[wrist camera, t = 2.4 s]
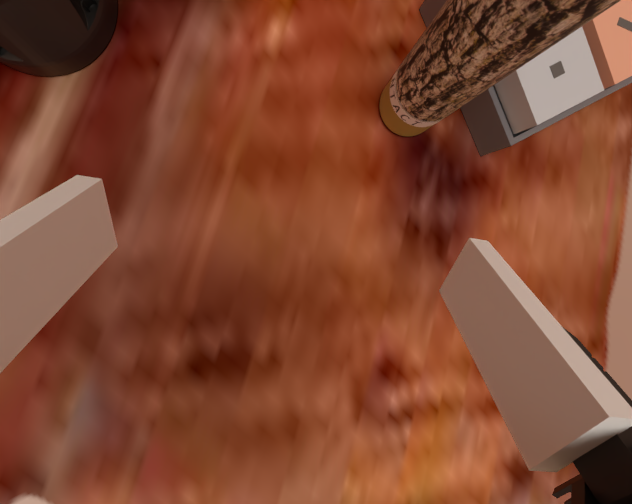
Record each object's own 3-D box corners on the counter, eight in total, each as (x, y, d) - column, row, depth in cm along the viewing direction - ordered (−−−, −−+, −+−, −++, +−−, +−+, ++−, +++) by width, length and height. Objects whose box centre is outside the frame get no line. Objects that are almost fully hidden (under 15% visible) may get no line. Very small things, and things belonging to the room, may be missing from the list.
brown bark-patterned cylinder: (420, 67, 35) (750, -321, 10) (442, 123, 36) (799, -105, 11) (367, 92, 34) (573, -242, 10) (392, 148, 35) (637, -27, 10)
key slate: (486, 65, 31) (507, 48, 28) (549, 33, 31) (578, 12, 28) (513, 134, 32) (537, 125, 28) (574, 102, 32) (604, 89, 29)
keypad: (419, 9, 34) (441, -27, 29) (555, -59, 35) (599, -106, 30) (480, 156, 36) (510, 145, 31) (607, 89, 37) (656, 69, 32)
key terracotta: (559, 28, 31) (589, 7, 28) (621, -4, 31) (657, -28, 28) (584, 97, 32) (615, 84, 29) (644, 66, 32) (681, 49, 29)
